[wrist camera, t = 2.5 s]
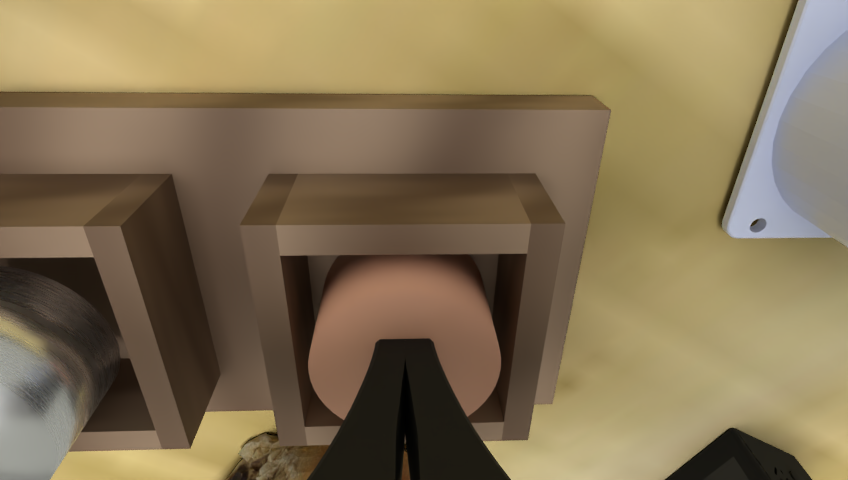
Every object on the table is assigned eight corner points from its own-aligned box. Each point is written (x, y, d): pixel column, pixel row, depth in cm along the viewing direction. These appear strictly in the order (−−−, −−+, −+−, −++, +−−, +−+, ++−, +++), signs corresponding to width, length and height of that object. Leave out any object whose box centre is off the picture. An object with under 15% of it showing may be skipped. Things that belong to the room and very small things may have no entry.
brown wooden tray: (592, 95, 15) (661, 149, 11) (542, 374, 20) (576, 475, 17) (-169, 90, 14) (-389, 147, 10) (-7, 385, 19) (-108, 495, 16)
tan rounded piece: (489, 227, 14) (510, 290, 12) (478, 356, 17) (492, 432, 14) (316, 228, 14) (298, 292, 12) (329, 359, 17) (316, 437, 14)
